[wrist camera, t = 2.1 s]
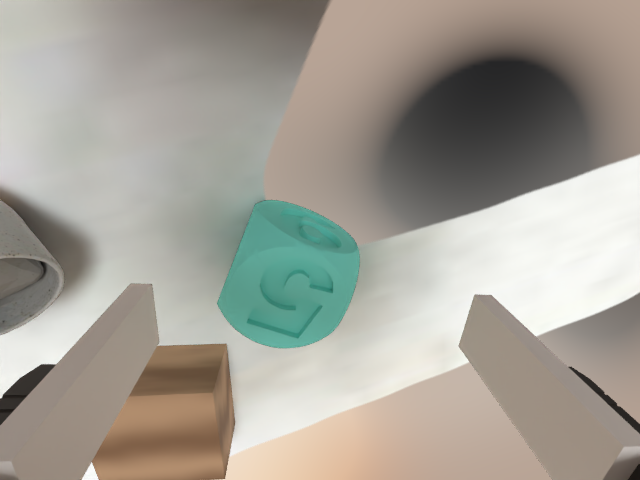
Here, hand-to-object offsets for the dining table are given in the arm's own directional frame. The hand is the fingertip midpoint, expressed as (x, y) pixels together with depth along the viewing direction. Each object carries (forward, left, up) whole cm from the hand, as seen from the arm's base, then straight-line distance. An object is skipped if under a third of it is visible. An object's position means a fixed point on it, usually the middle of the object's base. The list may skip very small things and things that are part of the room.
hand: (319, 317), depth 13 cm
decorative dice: (+3, -1, -15) cm, 15 cm away
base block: (+20, -12, -15) cm, 27 cm away
